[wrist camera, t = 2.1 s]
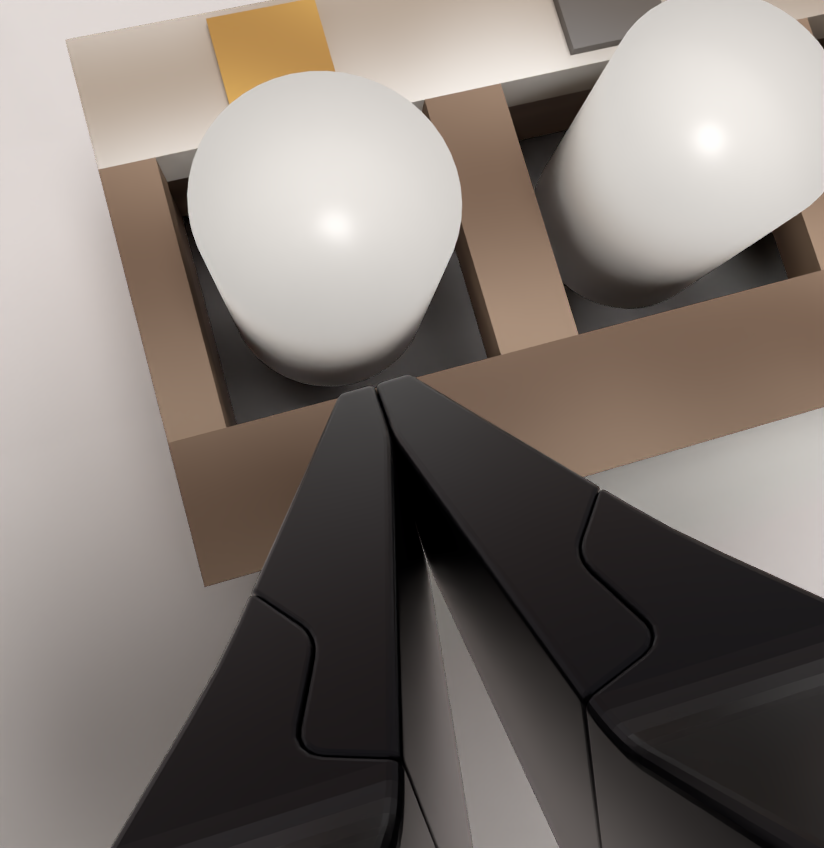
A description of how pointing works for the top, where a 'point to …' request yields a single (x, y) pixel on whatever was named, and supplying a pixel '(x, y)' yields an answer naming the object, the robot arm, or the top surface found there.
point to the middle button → (686, 150)
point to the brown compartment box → (475, 247)
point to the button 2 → (325, 222)
